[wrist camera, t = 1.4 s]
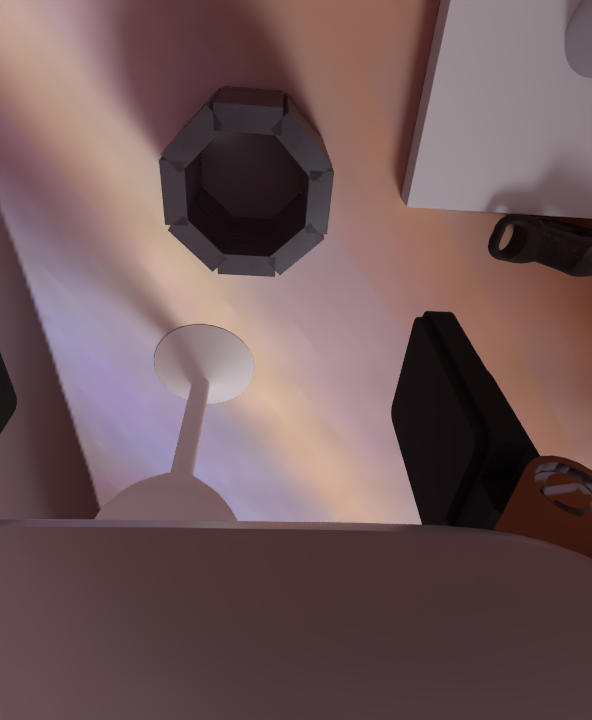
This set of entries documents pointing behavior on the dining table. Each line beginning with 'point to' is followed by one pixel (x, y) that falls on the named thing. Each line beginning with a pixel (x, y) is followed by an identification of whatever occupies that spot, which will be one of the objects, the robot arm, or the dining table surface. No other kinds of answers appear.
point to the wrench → (545, 244)
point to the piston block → (506, 110)
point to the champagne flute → (188, 425)
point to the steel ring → (239, 234)
